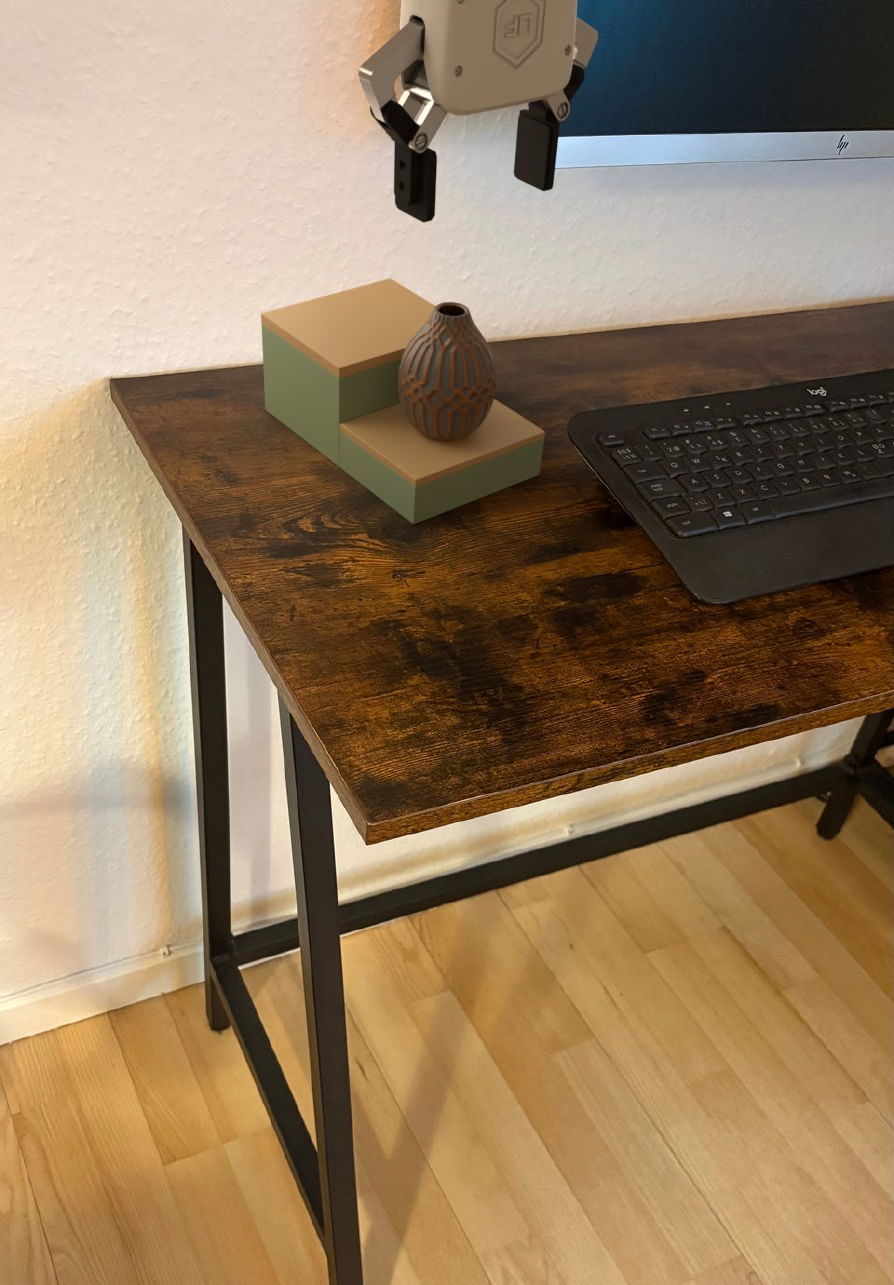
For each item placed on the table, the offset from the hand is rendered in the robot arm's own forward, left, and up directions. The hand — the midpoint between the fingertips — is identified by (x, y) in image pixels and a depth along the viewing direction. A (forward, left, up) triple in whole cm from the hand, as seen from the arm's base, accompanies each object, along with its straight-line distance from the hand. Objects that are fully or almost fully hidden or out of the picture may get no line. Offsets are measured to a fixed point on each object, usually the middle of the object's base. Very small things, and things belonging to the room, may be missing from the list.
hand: (475, 199), depth 77 cm
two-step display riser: (+3, -6, -20) cm, 21 cm away
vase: (+1, -1, -16) cm, 16 cm away
